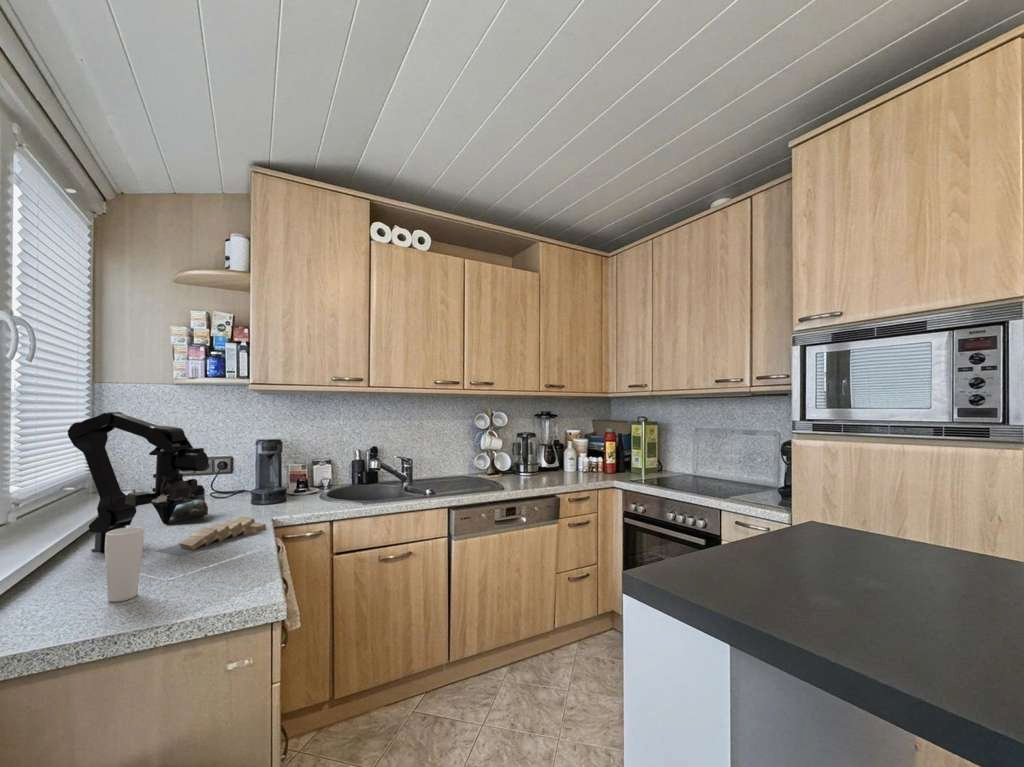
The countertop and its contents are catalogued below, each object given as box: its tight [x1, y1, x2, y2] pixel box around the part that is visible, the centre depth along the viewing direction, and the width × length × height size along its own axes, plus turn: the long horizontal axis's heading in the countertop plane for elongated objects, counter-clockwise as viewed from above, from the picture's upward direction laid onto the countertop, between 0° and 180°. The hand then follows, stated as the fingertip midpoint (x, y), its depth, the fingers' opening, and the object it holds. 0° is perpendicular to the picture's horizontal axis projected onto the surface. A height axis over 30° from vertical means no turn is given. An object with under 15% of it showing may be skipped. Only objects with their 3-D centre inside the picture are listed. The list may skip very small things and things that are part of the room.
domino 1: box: [178, 526, 218, 550], centre depth 142 cm, size 2×6×8 cm
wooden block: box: [228, 515, 256, 537], centre depth 154 cm, size 2×6×8 cm
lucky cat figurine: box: [165, 488, 209, 525], centre depth 174 cm, size 15×12×14 cm
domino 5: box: [240, 522, 267, 535], centre depth 158 cm, size 2×6×8 cm
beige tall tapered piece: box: [104, 526, 145, 603], centre depth 106 cm, size 7×7×15 cm
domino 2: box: [202, 522, 230, 546], centre depth 146 cm, size 2×6×8 cm
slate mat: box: [154, 532, 260, 558], centre depth 146 cm, size 25×12×1 cm, turn 156°
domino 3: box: [214, 519, 242, 542], centre depth 150 cm, size 2×6×8 cm
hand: (165, 523), depth 139 cm, fingers closed
